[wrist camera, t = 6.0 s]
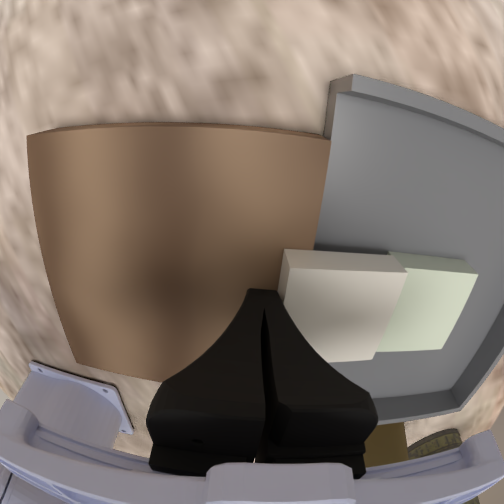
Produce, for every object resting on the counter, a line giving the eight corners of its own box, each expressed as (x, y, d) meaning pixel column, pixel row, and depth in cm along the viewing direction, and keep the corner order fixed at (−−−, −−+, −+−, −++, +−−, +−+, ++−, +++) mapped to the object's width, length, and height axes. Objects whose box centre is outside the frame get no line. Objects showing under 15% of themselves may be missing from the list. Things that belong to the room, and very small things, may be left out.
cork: (357, 417, 22) (378, 530, 12) (414, 412, 22) (443, 510, 12) (335, 447, 25) (346, 542, 15) (387, 442, 25) (406, 529, 15)
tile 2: (269, 341, 14) (272, 363, 13) (284, 248, 12) (290, 268, 11) (362, 339, 15) (372, 359, 13) (393, 255, 12) (408, 272, 11)
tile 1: (360, 332, 15) (366, 352, 14) (388, 251, 13) (400, 267, 12) (431, 332, 16) (441, 349, 14) (464, 259, 13) (478, 274, 12)
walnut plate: (90, 338, 19) (76, 362, 16) (56, 128, 12) (26, 135, 10) (277, 364, 19) (278, 395, 17) (319, 134, 12) (331, 140, 10)
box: (274, 387, 20) (276, 428, 17) (330, 81, 11) (353, 73, 8) (446, 380, 20) (460, 410, 17) (540, 159, 11) (576, 175, 8)
